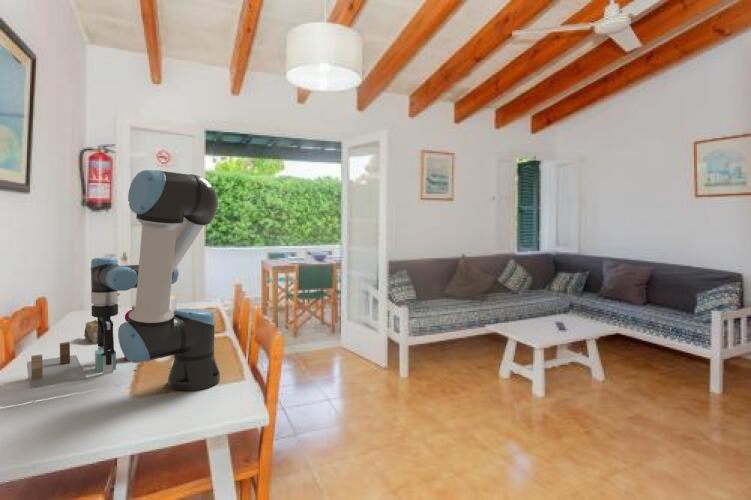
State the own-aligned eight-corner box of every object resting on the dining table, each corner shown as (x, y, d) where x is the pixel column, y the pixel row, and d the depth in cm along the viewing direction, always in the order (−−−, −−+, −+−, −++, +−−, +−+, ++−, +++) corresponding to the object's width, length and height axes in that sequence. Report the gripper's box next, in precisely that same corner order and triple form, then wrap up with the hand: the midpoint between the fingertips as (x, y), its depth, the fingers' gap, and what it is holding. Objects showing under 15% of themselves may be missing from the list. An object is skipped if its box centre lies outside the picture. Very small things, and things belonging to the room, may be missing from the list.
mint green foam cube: (116, 371, 144) (115, 351, 144) (97, 374, 141) (97, 354, 140) (113, 366, 148) (113, 348, 148) (95, 369, 145) (95, 350, 144)
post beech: (42, 378, 134) (42, 356, 134) (31, 380, 132) (31, 357, 132) (42, 376, 136) (41, 354, 136) (31, 377, 134) (31, 355, 134)
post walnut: (70, 363, 148) (69, 343, 148) (60, 365, 147) (60, 344, 146) (69, 361, 150) (69, 341, 150) (60, 363, 149) (59, 343, 148)
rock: (112, 339, 178) (106, 316, 178) (94, 344, 173) (87, 320, 173) (104, 342, 186) (98, 320, 186) (86, 347, 181) (80, 325, 181)
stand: (87, 380, 135) (87, 378, 135) (29, 390, 126) (29, 388, 126) (76, 356, 158) (76, 354, 158) (27, 363, 149) (27, 361, 149)
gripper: (124, 308, 137) (125, 376, 138) (112, 298, 154) (112, 359, 155) (96, 310, 132) (97, 381, 133) (86, 299, 149) (87, 363, 151)
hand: (105, 369), depth 144 cm, fingers open, 10 cm apart
